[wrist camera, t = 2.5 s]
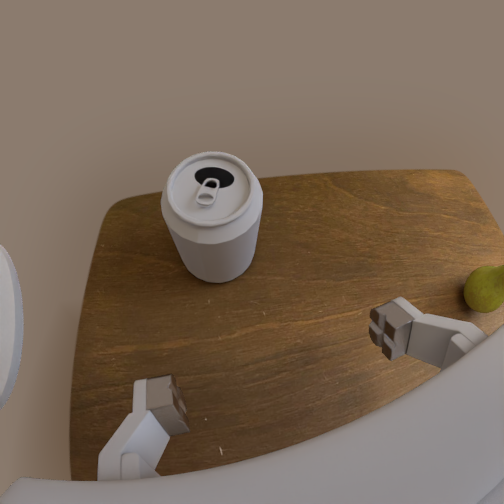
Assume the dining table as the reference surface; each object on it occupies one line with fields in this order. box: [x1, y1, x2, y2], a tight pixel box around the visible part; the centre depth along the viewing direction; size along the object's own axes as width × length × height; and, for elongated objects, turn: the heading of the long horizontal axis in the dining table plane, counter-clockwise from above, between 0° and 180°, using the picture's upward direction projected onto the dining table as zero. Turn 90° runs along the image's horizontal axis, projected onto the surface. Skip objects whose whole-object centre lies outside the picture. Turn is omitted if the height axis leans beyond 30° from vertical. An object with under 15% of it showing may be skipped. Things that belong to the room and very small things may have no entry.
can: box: [161, 152, 263, 283], centre depth 25 cm, size 8×8×12 cm
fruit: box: [464, 265, 504, 313], centre depth 25 cm, size 6×6×12 cm
